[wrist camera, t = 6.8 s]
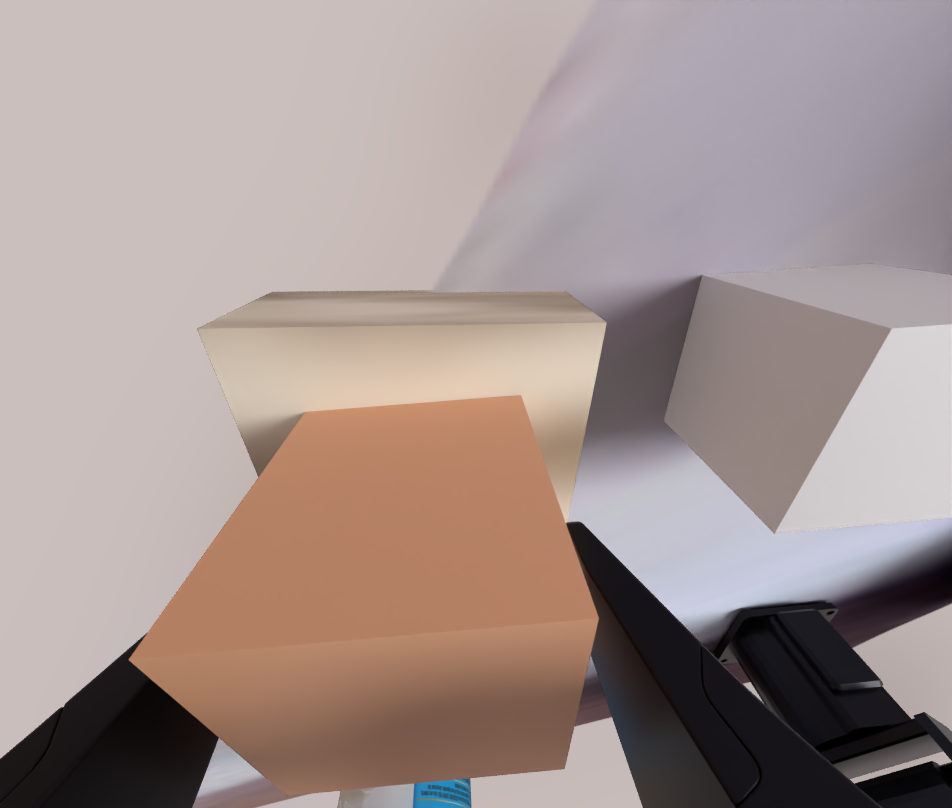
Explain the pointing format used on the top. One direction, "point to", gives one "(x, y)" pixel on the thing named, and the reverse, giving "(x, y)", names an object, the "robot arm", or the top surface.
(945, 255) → the top surface
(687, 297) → the top surface
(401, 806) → the beverage bottle
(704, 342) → the white block
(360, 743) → the terracotta block
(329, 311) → the birch base
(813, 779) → the robot arm
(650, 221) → the top surface
